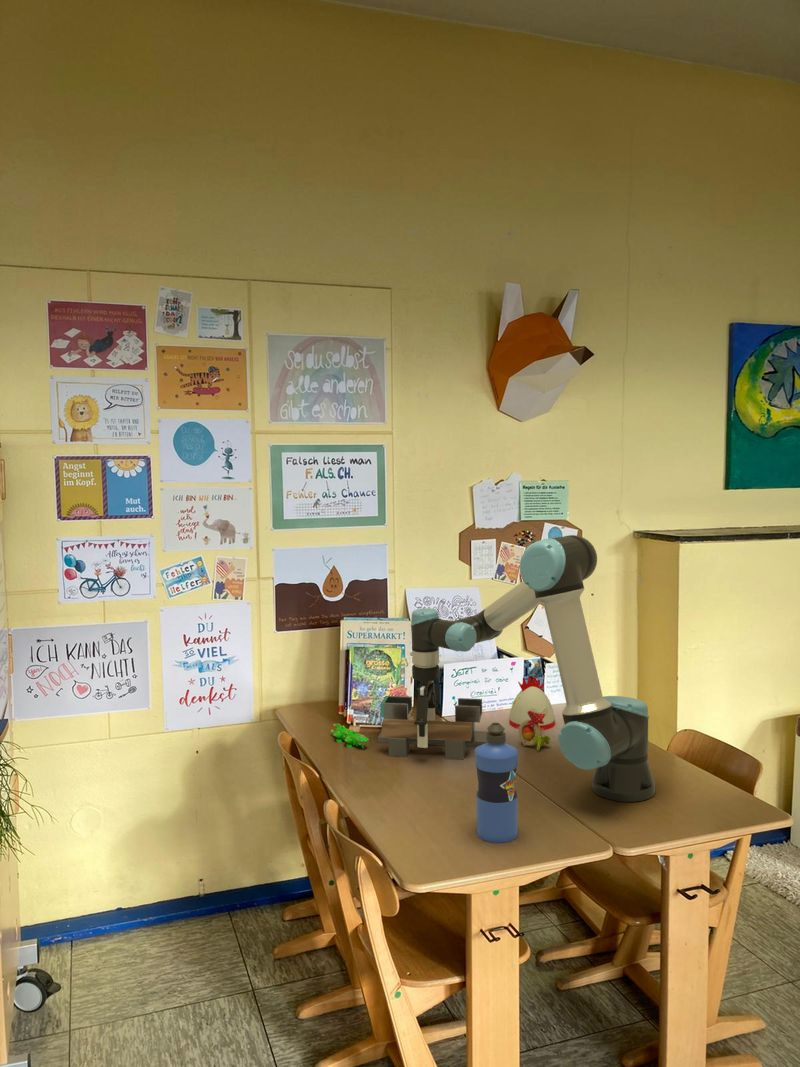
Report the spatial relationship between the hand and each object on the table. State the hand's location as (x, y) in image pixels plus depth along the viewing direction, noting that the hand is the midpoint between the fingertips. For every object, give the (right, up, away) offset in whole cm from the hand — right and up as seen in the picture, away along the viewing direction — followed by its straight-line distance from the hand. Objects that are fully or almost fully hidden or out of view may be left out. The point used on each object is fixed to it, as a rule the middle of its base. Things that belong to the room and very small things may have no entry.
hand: (426, 738), depth 234 cm
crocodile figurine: (-22, -4, +12) cm, 26 cm away
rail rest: (0, -4, 0) cm, 4 cm away
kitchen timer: (+33, -2, +24) cm, 41 cm away
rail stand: (+3, -3, +12) cm, 13 cm away
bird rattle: (+30, -4, +4) cm, 31 cm away
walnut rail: (0, +1, 0) cm, 1 cm away
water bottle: (+14, -9, -49) cm, 52 cm away
